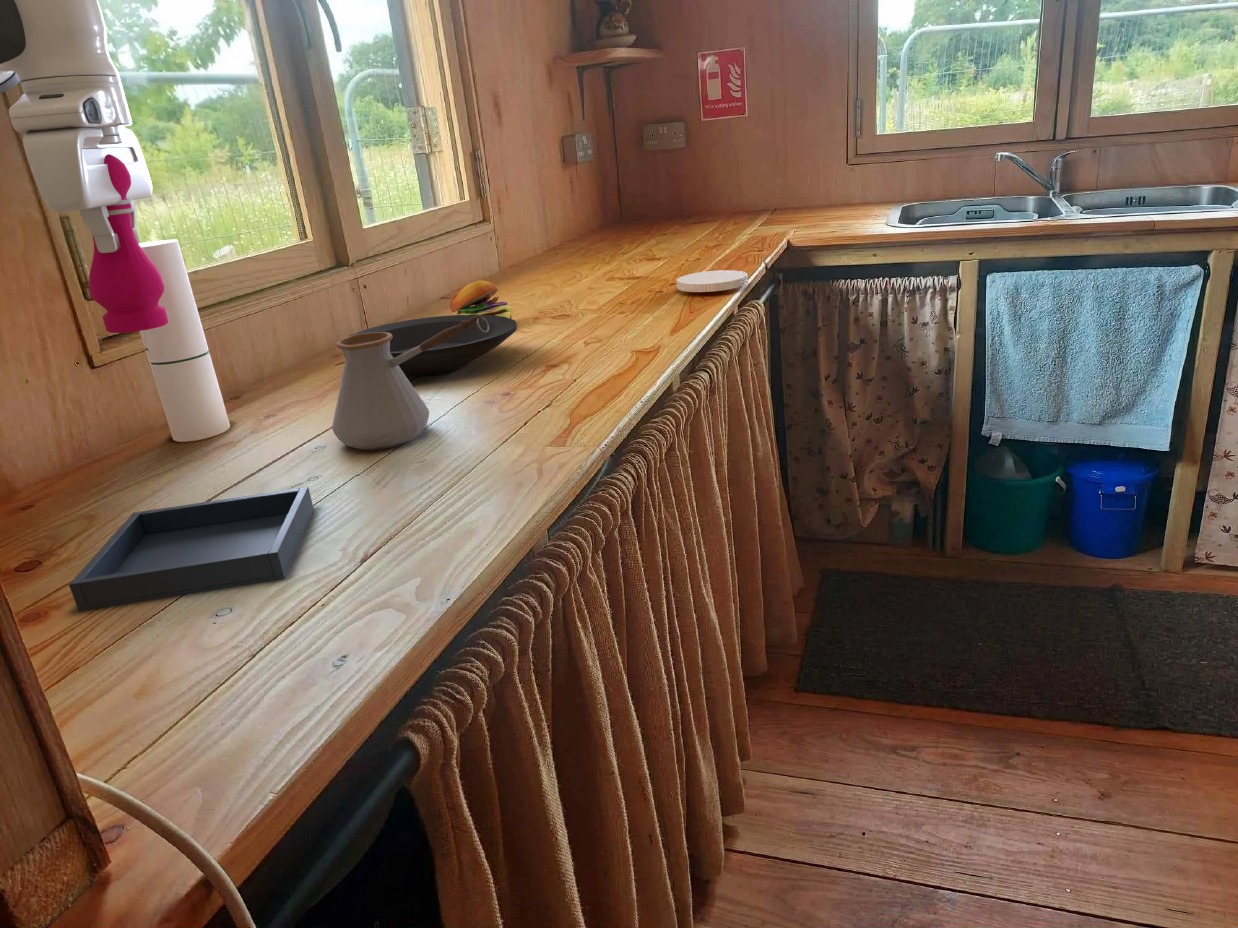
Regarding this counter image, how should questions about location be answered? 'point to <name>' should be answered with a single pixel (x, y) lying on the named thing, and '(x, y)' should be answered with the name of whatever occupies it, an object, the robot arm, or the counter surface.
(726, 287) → the plastic lid
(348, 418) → the coffee pot
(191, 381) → the cylindrical container
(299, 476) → the counter surface
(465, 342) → the black bowl
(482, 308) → the cheeseburger
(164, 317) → the pepper mill
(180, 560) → the tray
